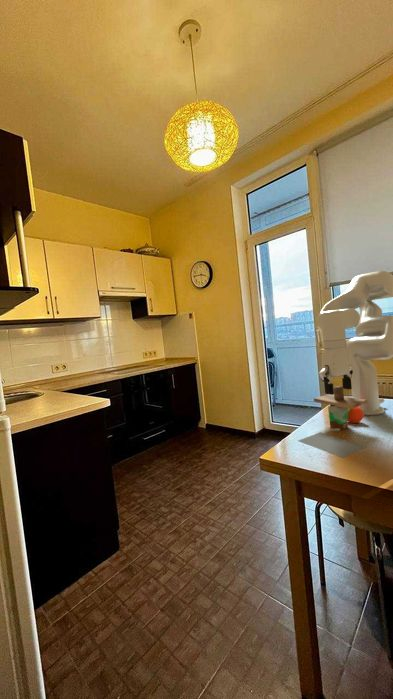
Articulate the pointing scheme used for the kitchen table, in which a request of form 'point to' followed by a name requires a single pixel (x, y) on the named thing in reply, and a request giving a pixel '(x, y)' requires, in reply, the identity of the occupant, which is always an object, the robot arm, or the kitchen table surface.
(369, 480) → the kitchen table surface
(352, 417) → the clementine
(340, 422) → the food container
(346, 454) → the mat
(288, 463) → the kitchen table surface
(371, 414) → the robot arm
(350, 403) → the lid
